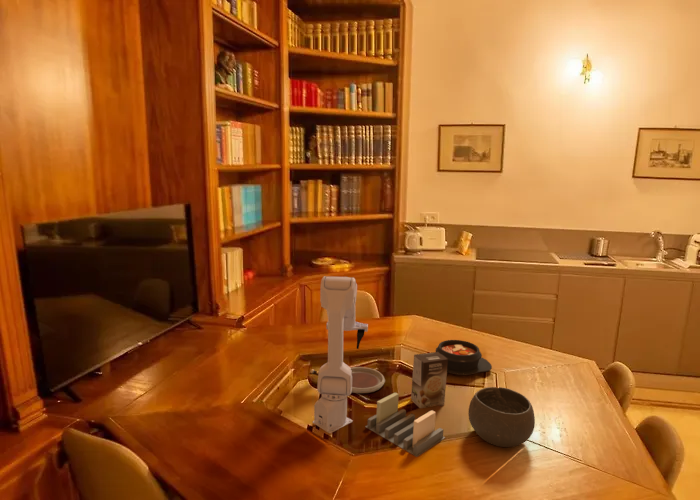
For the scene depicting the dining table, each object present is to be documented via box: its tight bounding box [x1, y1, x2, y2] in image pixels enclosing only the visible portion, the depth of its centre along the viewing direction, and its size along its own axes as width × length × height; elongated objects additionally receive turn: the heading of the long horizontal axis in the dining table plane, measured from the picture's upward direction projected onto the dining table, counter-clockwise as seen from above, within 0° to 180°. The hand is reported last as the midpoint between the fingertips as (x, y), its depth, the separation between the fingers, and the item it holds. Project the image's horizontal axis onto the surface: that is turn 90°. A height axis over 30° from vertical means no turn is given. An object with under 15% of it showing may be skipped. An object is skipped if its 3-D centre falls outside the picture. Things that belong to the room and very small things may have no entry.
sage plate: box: [376, 392, 399, 424], centre depth 144 cm, size 8×1×8 cm, turn 134°
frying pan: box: [310, 366, 386, 394], centre depth 171 cm, size 17×3×28 cm
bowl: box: [468, 386, 536, 448], centre depth 137 cm, size 18×18×13 cm
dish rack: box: [364, 408, 446, 458], centre depth 140 cm, size 13×19×3 cm
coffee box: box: [410, 351, 448, 409], centre depth 156 cm, size 9×6×16 cm
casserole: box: [434, 339, 493, 376], centre depth 182 cm, size 25×19×8 cm
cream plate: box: [412, 409, 437, 447], centre depth 134 cm, size 8×1×8 cm, turn 134°
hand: (347, 346), depth 174 cm, fingers open, 7 cm apart
